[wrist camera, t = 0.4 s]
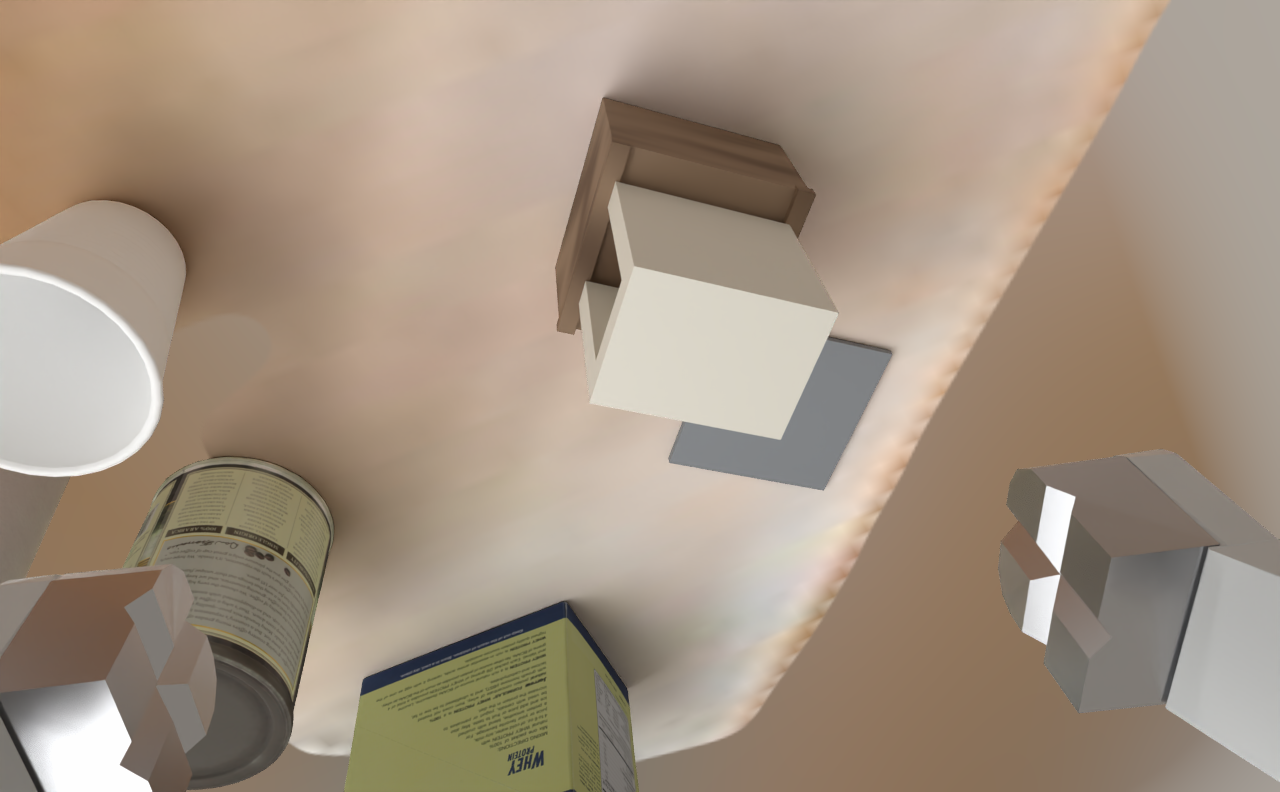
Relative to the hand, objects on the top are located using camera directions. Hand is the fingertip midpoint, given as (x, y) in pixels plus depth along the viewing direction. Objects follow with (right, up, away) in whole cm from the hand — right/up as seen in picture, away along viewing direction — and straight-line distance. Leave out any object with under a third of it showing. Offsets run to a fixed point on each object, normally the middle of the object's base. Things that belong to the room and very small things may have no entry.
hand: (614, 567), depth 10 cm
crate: (+2, +11, +39) cm, 41 cm away
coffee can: (-23, -6, +48) cm, 53 cm away
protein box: (-9, -18, +58) cm, 61 cm away
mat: (+8, +1, +47) cm, 47 cm away
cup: (-25, +9, +38) cm, 46 cm away
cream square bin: (+2, +8, +34) cm, 35 cm away
